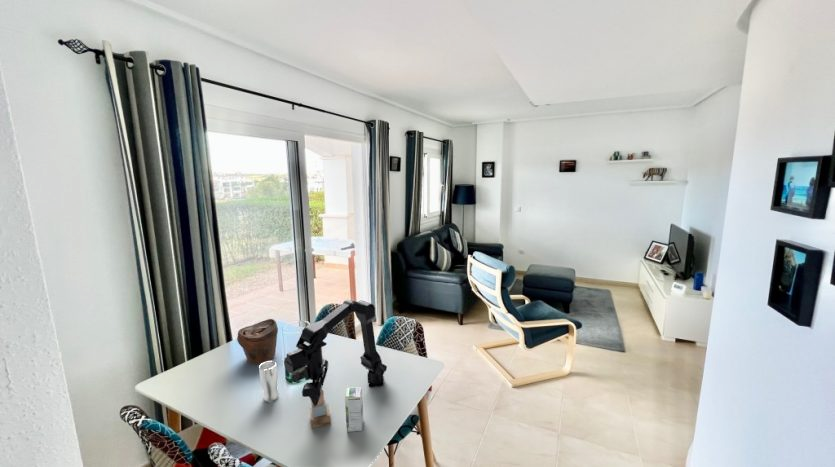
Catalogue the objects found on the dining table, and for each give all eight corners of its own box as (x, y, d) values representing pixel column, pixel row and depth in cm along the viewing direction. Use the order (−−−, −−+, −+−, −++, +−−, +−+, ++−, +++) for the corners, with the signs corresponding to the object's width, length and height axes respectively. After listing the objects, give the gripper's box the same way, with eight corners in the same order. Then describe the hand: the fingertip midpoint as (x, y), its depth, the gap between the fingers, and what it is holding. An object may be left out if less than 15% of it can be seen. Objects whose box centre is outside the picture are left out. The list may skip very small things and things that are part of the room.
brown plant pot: (231, 366, 171) (226, 332, 167) (257, 345, 190) (254, 314, 186) (263, 371, 167) (259, 336, 163) (287, 349, 186) (284, 318, 182)
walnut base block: (328, 412, 139) (328, 403, 138) (330, 424, 133) (330, 415, 132) (310, 416, 137) (309, 407, 136) (311, 429, 130) (310, 420, 130)
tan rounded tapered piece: (325, 397, 136) (324, 388, 135) (323, 406, 131) (322, 397, 130) (312, 398, 135) (311, 389, 134) (310, 407, 130) (309, 398, 130)
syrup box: (348, 420, 134) (345, 387, 131) (363, 419, 134) (361, 386, 131) (346, 432, 128) (344, 397, 125) (362, 431, 129) (360, 396, 126)
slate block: (325, 405, 137) (324, 396, 136) (326, 414, 133) (326, 404, 132) (312, 409, 135) (311, 400, 134) (313, 417, 131) (312, 408, 130)
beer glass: (283, 393, 150) (280, 362, 147) (272, 404, 144) (268, 371, 141) (270, 390, 153) (266, 359, 149) (258, 400, 146) (254, 368, 143)
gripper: (298, 347, 137) (301, 383, 141) (284, 376, 119) (289, 416, 123) (327, 345, 138) (330, 381, 142) (318, 374, 120) (321, 413, 124)
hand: (317, 396), depth 132 cm, fingers open, 9 cm apart
